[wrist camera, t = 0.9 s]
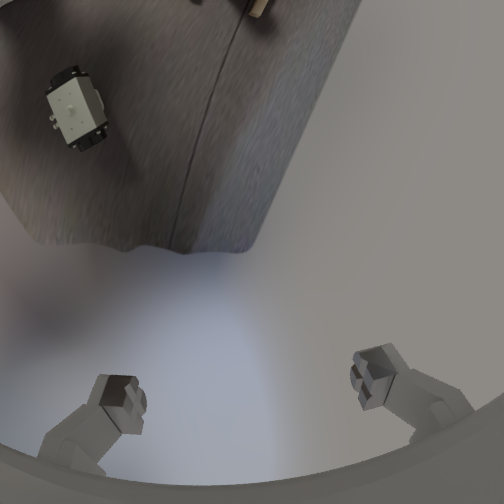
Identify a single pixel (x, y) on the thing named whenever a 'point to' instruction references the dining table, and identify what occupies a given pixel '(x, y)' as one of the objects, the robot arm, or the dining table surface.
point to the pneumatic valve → (77, 108)
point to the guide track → (258, 8)
